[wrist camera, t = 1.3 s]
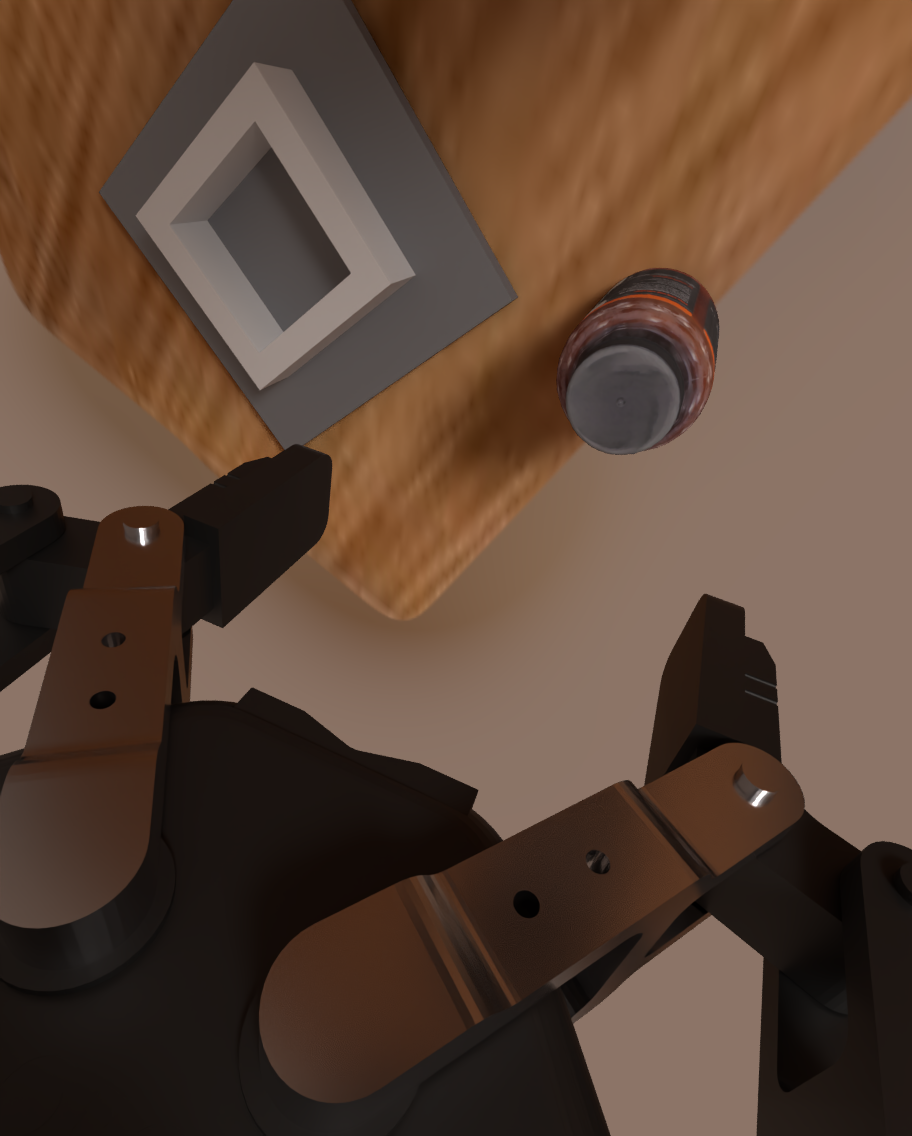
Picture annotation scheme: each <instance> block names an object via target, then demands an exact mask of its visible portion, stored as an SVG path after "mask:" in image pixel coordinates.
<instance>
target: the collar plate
mask: <svg viewBox="0 0 912 1136" xmlns="http://www.w3.org/2000/svg"><path fill="white" fill-rule="evenodd" d="M99 193H100V194H101V196H102V197H103V198H104V200H105V201H106V203H107V204H108V205H109V207H110V208H111V210H112V211H113V212H114V214H115V215H116V216H117V218H118V219H119V221H120V222H121V223H122V225H123V226H124V228H125V229H126V230H127V232H128V233H129V234H130V236H131V237H132V239H133V240H134V241H135V243H136V244H137V246H138V247H139V248H140V250H141V251H142V253H143V254H144V255H145V257H146V258H147V259H148V261H149V262H150V264H151V265H152V266H153V268H154V269H155V271H156V272H157V273H158V275H159V276H160V278H161V279H162V280H163V282H164V283H165V284H166V286H167V287H168V289H169V290H170V291H171V293H172V294H173V296H174V297H175V298H176V300H177V301H178V302H179V304H180V305H181V307H182V308H183V309H184V311H185V312H186V314H187V315H188V316H189V318H190V319H191V321H192V322H193V323H194V325H195V326H196V327H197V329H198V330H199V332H200V333H201V334H202V336H203V337H204V339H205V340H206V341H207V343H208V344H209V346H210V347H211V348H212V350H213V351H214V352H215V354H216V355H217V357H218V358H219V359H220V361H221V362H222V364H223V365H224V366H225V368H226V369H227V370H228V372H229V373H230V375H231V376H232V377H233V379H234V380H235V382H236V383H237V384H238V386H239V387H240V389H241V390H242V391H243V393H244V394H245V395H246V397H247V398H248V400H249V401H250V402H251V404H252V405H253V407H254V408H255V409H256V411H257V412H258V414H259V415H260V416H261V418H262V419H263V420H264V422H265V423H266V425H267V426H268V427H269V429H270V430H271V432H272V433H273V434H274V436H275V437H276V439H277V440H278V441H279V443H280V444H281V445H282V447H283V448H284V450H286V449H287V448H289V447H290V446H292V445H294V444H300V445H302V446H303V445H304V444H306V443H307V442H309V441H310V440H312V439H313V438H315V437H316V436H317V435H319V434H320V433H322V432H323V431H325V430H326V429H328V428H329V427H331V426H332V425H333V424H335V423H336V422H338V421H339V420H341V419H342V418H344V417H345V416H346V415H348V414H349V413H351V412H352V411H354V410H355V409H357V408H358V407H360V406H361V405H362V404H364V403H365V402H367V401H368V400H370V399H371V398H373V397H374V396H375V395H377V394H378V393H380V392H381V391H383V390H384V389H386V388H387V387H388V386H390V385H391V384H393V383H394V382H396V381H397V380H399V379H400V378H402V377H403V376H404V375H406V374H407V373H409V372H410V371H412V370H413V369H415V368H416V367H417V366H419V365H420V364H422V363H423V362H425V361H426V360H428V359H429V358H431V357H432V356H433V355H435V354H436V353H438V352H439V351H441V350H442V349H444V348H445V347H446V346H448V345H449V344H451V343H452V342H454V341H455V340H457V339H458V338H460V337H461V336H462V335H464V334H465V333H467V332H468V331H470V330H471V329H473V328H474V327H475V326H477V325H478V324H480V323H481V322H483V321H484V320H486V319H487V318H489V317H490V316H491V315H493V314H494V313H496V312H497V311H499V310H500V309H502V308H503V307H504V306H506V305H507V304H509V303H510V302H512V301H513V300H515V299H516V298H518V296H517V294H516V293H515V291H514V289H513V287H512V286H511V284H510V282H509V280H508V278H507V277H506V275H505V273H504V271H503V269H502V268H501V266H500V264H499V262H498V261H497V259H496V257H495V255H494V253H493V252H492V250H491V248H490V246H489V245H488V243H487V241H486V239H485V237H484V236H483V234H482V232H481V230H480V229H479V227H478V225H477V223H476V221H475V220H474V218H473V216H472V214H471V213H470V211H469V209H468V207H467V205H466V204H465V202H464V200H463V198H462V197H461V195H460V193H459V191H458V189H457V188H456V186H455V184H454V182H453V181H452V179H451V177H450V175H449V173H448V172H447V170H446V168H445V166H444V165H443V163H442V161H441V159H440V157H439V156H438V154H437V152H436V150H435V149H434V147H433V145H432V143H431V141H430V140H429V138H428V136H427V134H426V133H425V131H424V129H423V127H422V125H421V124H420V122H419V120H418V118H417V117H416V115H415V113H414V111H413V109H412V108H411V106H410V104H409V102H408V100H407V99H406V97H405V95H404V93H403V92H402V90H401V88H400V86H399V84H398V83H397V81H396V79H395V77H394V76H393V74H392V72H391V70H390V68H389V67H388V65H387V63H386V61H385V60H384V58H383V56H382V54H381V52H380V51H379V49H378V47H377V45H376V44H375V42H374V40H373V38H372V36H371V35H370V33H369V31H368V29H367V28H366V26H365V24H364V22H363V20H362V19H361V17H360V15H359V13H358V12H357V10H356V8H355V6H354V4H353V3H352V1H351V0H233V1H232V2H231V4H230V5H229V7H228V8H227V9H226V11H225V12H224V14H223V15H222V17H221V18H220V19H219V21H218V22H217V24H216V25H215V27H214V28H213V29H212V31H211V32H210V34H209V35H208V37H207V38H206V39H205V41H204V42H203V44H202V45H201V47H200V48H199V49H198V51H197V52H196V54H195V55H194V57H193V58H192V60H191V61H190V62H189V64H188V65H187V67H186V68H185V70H184V71H183V72H182V74H181V75H180V77H179V78H178V80H177V81H176V82H175V84H174V85H173V87H172V88H171V90H170V91H169V92H168V94H167V95H166V97H165V98H164V100H163V101H162V102H161V104H160V105H159V107H158V108H157V110H156V111H155V113H154V114H153V115H152V117H151V118H150V120H149V121H148V123H147V124H146V125H145V127H144V128H143V130H142V131H141V133H140V134H139V135H138V137H137V138H136V140H135V141H134V143H133V144H132V145H131V147H130V148H129V150H128V151H127V153H126V154H125V156H124V157H123V158H122V160H121V161H120V163H119V164H118V166H117V167H116V168H115V170H114V171H113V173H112V174H111V176H110V177H109V178H108V180H107V181H106V183H105V184H104V186H103V187H102V188H101V190H100V191H99Z"/></svg>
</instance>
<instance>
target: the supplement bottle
mask: <svg viewBox="0 0 912 1136" xmlns="http://www.w3.org/2000/svg"><path fill="white" fill-rule="evenodd" d="M718 338H719V319H718V314H717V311H716V307H715V305H714V302H713V300H712V298H711V296H710V295H709V293H708V292H707V290H706V289H705V288H704V287H703V286H702V285H701V284H700V282H699V281H698V280H696V279H695V278H693V277H692V276H690V275H688V274H686V273H684V272H681V271H678V270H674V269H669V268H652V269H646V270H643V271H640V272H637V273H635V274H633V275H631V276H628V277H627V278H625V279H623V280H622V281H620V282H619V283H618V284H616V285H615V286H614V287H613V288H612V289H611V290H610V291H609V292H608V293H607V294H606V295H605V296H604V297H603V298H602V299H601V300H600V302H599V303H598V304H597V305H596V306H595V307H594V308H593V309H592V310H591V311H590V312H589V313H588V314H587V315H586V317H585V318H584V319H583V320H582V321H581V322H580V323H579V325H578V326H577V327H576V328H575V329H574V331H573V332H572V333H571V335H570V337H569V338H568V340H567V342H566V344H565V346H564V349H563V351H562V354H561V356H560V359H559V363H558V368H557V380H556V381H557V391H558V395H559V399H560V402H561V405H562V408H563V410H564V413H565V414H566V416H567V419H568V420H569V421H570V423H571V425H572V427H573V429H574V430H575V432H576V433H577V435H578V436H579V437H580V438H581V439H582V440H583V441H585V442H586V443H587V444H588V445H590V446H591V447H593V448H595V449H597V450H599V451H602V452H604V453H608V454H615V455H626V454H635V453H637V452H641V451H646V450H649V449H653V448H658V447H660V446H662V445H665V444H667V443H669V442H670V441H672V440H674V439H675V438H677V437H678V436H680V435H681V434H682V433H684V432H685V431H686V430H687V429H688V428H689V427H690V426H691V425H692V424H693V423H694V422H695V420H696V419H697V418H698V416H699V415H700V414H701V412H702V410H703V408H704V406H705V404H706V402H707V400H708V398H709V395H710V392H711V389H712V385H713V380H714V372H715V364H716V357H717V348H718Z"/></svg>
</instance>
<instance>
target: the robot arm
mask: <svg viewBox="0 0 912 1136" xmlns="http://www.w3.org/2000/svg"><path fill="white" fill-rule="evenodd" d="M331 476H332V460H331V457H330V456H329V455H327V454H324V453H322V452H319V451H316V450H313V449H311V448H308V447H305V446H302V445H300V444H294V445H292V446H290V447H289V448H287V449H286V450H284V451H282V452H281V453H279V454H278V455H276V456H275V457H273V458H269V457H265V458H261V459H257V460H254V461H250V462H246V463H243V464H242V465H240V466H239V467H237V468H235V469H234V470H232V471H230V472H229V473H228V475H227V476H226V475H224V476H222V477H221V478H219V479H217V480H216V481H214V484H209V485H208V486H206V487H204V488H203V489H201V490H199V491H198V492H196V493H194V494H193V495H191V496H190V497H188V498H186V499H185V500H183V501H182V502H180V503H178V504H177V505H175V506H173V507H172V508H170V509H168V510H167V509H164V508H160V507H154V506H136V507H129V508H124V509H121V510H118V511H116V512H113V513H111V514H110V515H108V516H106V517H105V518H104V519H103V520H102V521H101V522H97V521H90V520H85V519H78V518H72V517H66V516H63V511H62V507H61V502H60V499H59V497H58V496H57V494H56V493H54V492H53V491H51V490H49V489H46V488H43V487H39V486H33V485H10V486H4V487H0V692H1V691H2V690H3V689H4V688H6V687H7V686H8V685H10V684H11V683H12V682H13V681H15V680H16V679H17V678H18V677H20V676H21V675H22V674H24V673H25V672H26V671H27V670H29V669H30V668H31V667H32V666H34V665H35V664H36V663H38V662H39V661H40V660H41V659H42V658H44V657H45V656H46V655H48V654H49V653H50V652H51V654H50V658H49V662H48V665H47V669H46V672H45V676H44V680H43V683H42V687H41V691H40V694H39V698H38V701H37V705H36V709H35V713H34V716H33V720H32V723H31V727H30V731H29V734H28V738H27V742H26V745H25V748H24V749H21V750H17V751H14V752H11V753H7V754H4V755H0V1136H611V1135H610V1132H609V1130H608V1126H607V1123H606V1120H605V1118H604V1115H603V1112H602V1109H601V1106H600V1103H599V1100H598V1097H597V1094H596V1091H595V1088H594V1085H593V1082H592V1079H591V1076H590V1073H589V1070H588V1067H587V1064H586V1062H585V1059H584V1055H583V1052H582V1049H581V1046H580V1044H579V1041H578V1037H577V1034H576V1031H575V1029H574V1026H573V1023H575V1022H576V1021H577V1020H579V1019H580V1018H581V1017H583V1016H584V1015H585V1014H587V1013H588V1012H589V1011H591V1010H592V1009H593V1008H594V1007H596V1006H597V1005H598V1004H600V1003H601V1002H602V1001H603V1000H604V999H605V998H607V997H608V996H609V995H610V994H611V993H612V992H614V991H615V990H616V989H617V988H618V987H619V986H620V985H621V984H622V983H623V982H624V981H625V980H626V979H627V978H629V977H630V976H631V975H632V974H633V973H634V972H636V971H637V970H638V969H639V968H641V967H642V966H643V965H645V964H646V963H648V962H649V961H650V960H652V959H653V958H654V957H655V956H657V955H658V954H660V953H661V952H662V951H664V950H665V949H666V948H668V947H669V946H670V945H672V944H673V943H674V942H676V941H677V940H678V939H680V938H681V937H683V936H684V935H685V934H687V933H688V932H689V931H691V930H692V929H693V928H695V927H696V926H697V925H698V924H700V923H701V922H703V921H704V920H705V919H707V918H708V917H710V916H711V915H713V916H714V917H715V918H716V919H718V920H719V921H720V922H721V923H723V924H724V925H725V926H726V927H727V928H729V929H730V930H731V931H732V932H734V933H735V934H736V935H737V936H739V937H740V938H741V939H742V940H743V941H745V942H746V943H747V944H748V945H750V946H751V947H752V948H753V949H754V950H756V951H757V952H758V953H759V954H761V955H762V956H763V957H764V961H763V986H762V987H763V988H762V1012H761V1037H760V1064H759V1066H760V1067H759V1088H758V1089H759V1090H758V1114H757V1136H912V850H911V849H909V848H907V847H905V846H902V845H899V844H896V843H892V842H885V841H881V842H875V843H872V844H870V845H868V846H867V847H866V848H865V849H863V850H862V851H860V850H858V849H857V848H856V847H854V846H853V845H851V844H850V843H848V842H847V841H845V840H844V839H842V838H841V837H839V836H838V835H836V834H835V833H834V832H832V831H831V830H829V829H828V828H826V827H825V826H824V825H822V824H821V823H820V822H818V821H817V820H816V819H815V818H813V817H812V816H811V815H810V814H809V813H808V812H807V811H806V810H805V809H804V808H805V800H804V796H803V792H802V790H801V788H800V785H799V784H798V782H797V781H796V779H795V778H794V776H793V775H792V774H791V772H790V771H789V770H788V769H787V768H786V767H785V766H784V765H783V764H782V762H781V747H780V731H779V714H778V706H777V702H778V698H777V689H776V685H777V681H776V666H775V663H774V661H773V659H772V658H771V656H770V655H769V652H768V651H767V649H766V647H765V645H764V644H763V643H762V642H760V641H757V640H754V639H752V638H749V637H746V636H745V610H744V608H743V607H741V606H738V605H735V604H733V603H730V602H727V601H724V600H722V599H719V598H716V597H713V596H710V595H708V594H704V595H703V596H702V597H701V598H700V600H699V601H698V603H697V605H696V607H695V609H694V611H693V612H692V614H691V616H690V618H689V620H688V622H687V623H686V625H685V627H684V629H683V631H682V633H681V635H680V637H679V638H678V640H677V642H676V644H675V646H674V648H673V649H672V652H671V653H670V656H669V658H668V660H667V663H666V665H665V669H664V671H663V675H662V679H661V684H660V690H659V696H658V703H657V709H656V715H655V721H654V728H653V734H652V741H651V747H650V753H649V760H648V766H647V772H646V778H645V785H644V786H643V787H641V788H639V789H637V788H636V787H635V786H634V784H633V783H632V782H631V781H629V780H625V781H621V782H618V783H616V784H613V785H612V786H610V787H607V788H605V789H604V790H602V791H600V792H598V793H596V794H594V795H592V796H590V797H588V798H586V799H584V800H582V801H580V802H578V803H576V804H574V805H572V806H570V807H568V808H566V809H565V810H562V811H560V812H559V813H557V814H555V815H553V816H551V817H549V818H547V819H545V820H543V821H541V822H539V823H537V824H535V825H533V826H531V827H529V828H527V829H525V830H523V831H521V832H519V833H517V834H516V835H514V836H512V837H510V838H508V839H506V840H504V841H503V840H502V839H501V837H500V836H499V835H498V834H497V832H496V831H495V830H494V829H493V828H492V827H491V826H490V825H489V824H488V823H487V822H486V821H485V820H484V819H483V818H482V817H481V816H480V815H479V814H477V813H476V812H475V811H474V810H472V807H473V804H474V802H475V799H476V796H477V793H478V790H477V789H475V788H473V787H471V786H469V785H466V784H464V783H462V782H460V781H457V780H455V779H453V778H451V777H449V776H447V775H444V774H442V773H440V772H437V771H435V770H433V769H431V768H429V767H427V766H424V765H422V764H420V763H415V762H411V761H406V760H401V759H396V758H392V757H386V756H382V755H377V754H372V753H367V752H362V751H358V750H355V749H353V748H351V747H349V746H348V745H346V744H345V743H344V742H343V741H341V740H340V739H339V738H338V737H336V736H335V735H334V734H333V733H331V732H330V731H329V730H327V729H326V728H325V727H324V726H323V725H321V724H320V723H319V722H318V721H316V720H315V719H314V718H313V717H311V716H310V715H309V714H307V713H306V712H305V711H303V710H301V709H299V708H296V707H294V706H292V705H290V704H288V703H285V702H283V701H281V700H279V699H276V698H274V697H272V696H270V695H268V694H266V693H263V692H261V691H259V690H257V689H255V688H251V689H250V690H249V691H248V692H247V693H246V694H245V695H244V696H243V697H242V698H241V700H240V701H239V702H238V703H235V702H226V701H193V702H190V690H191V669H192V647H193V631H192V626H193V625H194V624H195V623H197V622H198V621H199V620H200V619H203V620H205V621H208V622H210V623H212V624H214V625H217V626H219V627H221V628H223V627H225V626H226V625H227V624H228V623H229V622H230V621H231V620H232V619H233V618H234V617H236V616H237V615H238V614H239V613H240V612H241V611H242V610H243V609H244V608H245V607H247V606H248V605H249V604H250V603H251V602H252V601H253V600H254V599H256V598H257V597H258V596H259V595H260V594H261V593H262V592H263V591H264V590H265V589H266V588H268V587H269V586H270V585H271V584H272V583H273V582H274V581H275V580H276V579H278V578H279V577H280V576H281V575H282V574H283V573H284V572H285V571H287V570H288V569H289V568H290V567H291V566H292V565H293V564H294V563H295V562H296V561H298V560H299V559H300V558H301V557H302V556H303V555H304V554H305V553H306V552H308V551H309V550H310V549H311V548H312V547H313V546H314V545H315V544H316V543H317V542H318V541H319V540H320V538H321V536H322V535H323V533H324V530H325V528H326V525H327V521H328V514H329V501H330V489H331Z"/></svg>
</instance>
